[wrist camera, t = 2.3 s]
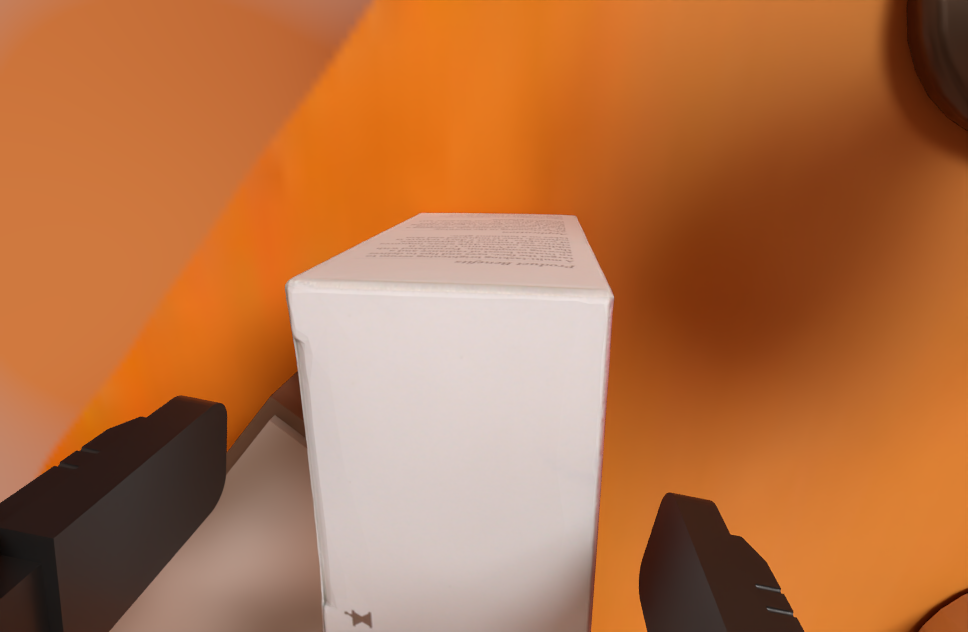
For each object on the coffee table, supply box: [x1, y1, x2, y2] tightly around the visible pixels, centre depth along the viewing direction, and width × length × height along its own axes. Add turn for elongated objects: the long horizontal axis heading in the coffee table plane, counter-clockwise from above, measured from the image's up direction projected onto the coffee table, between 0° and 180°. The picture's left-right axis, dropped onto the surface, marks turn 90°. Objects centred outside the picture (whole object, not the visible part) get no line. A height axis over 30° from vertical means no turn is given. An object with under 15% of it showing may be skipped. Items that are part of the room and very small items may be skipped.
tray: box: [109, 371, 323, 632], centre depth 23 cm, size 14×14×3 cm
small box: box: [285, 213, 614, 632], centre depth 15 cm, size 8×6×10 cm
